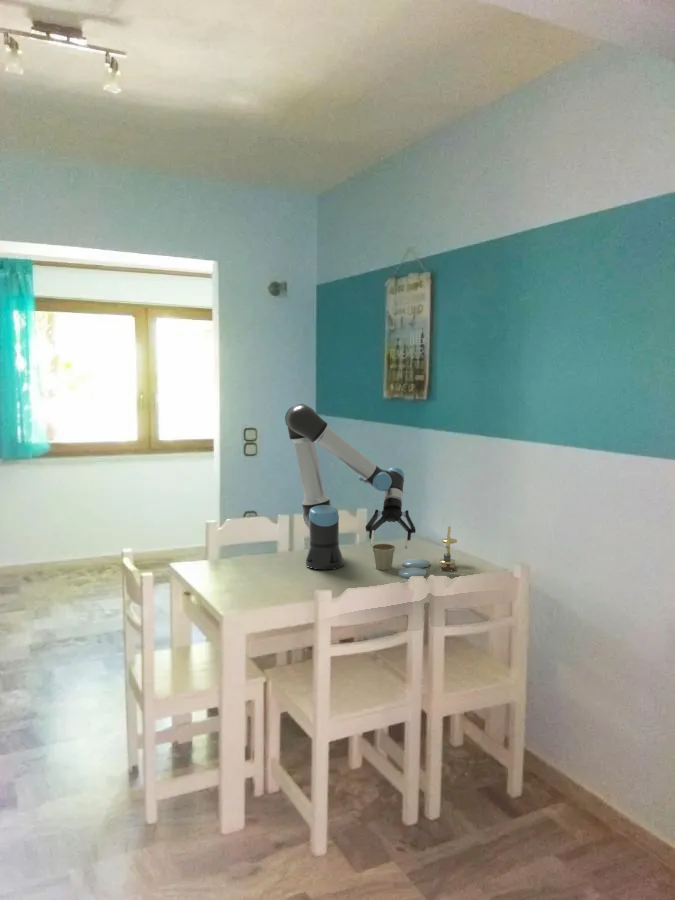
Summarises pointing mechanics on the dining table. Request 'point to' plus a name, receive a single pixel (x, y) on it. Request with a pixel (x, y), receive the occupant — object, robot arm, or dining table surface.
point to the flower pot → (383, 555)
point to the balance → (448, 553)
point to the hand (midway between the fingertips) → (388, 546)
